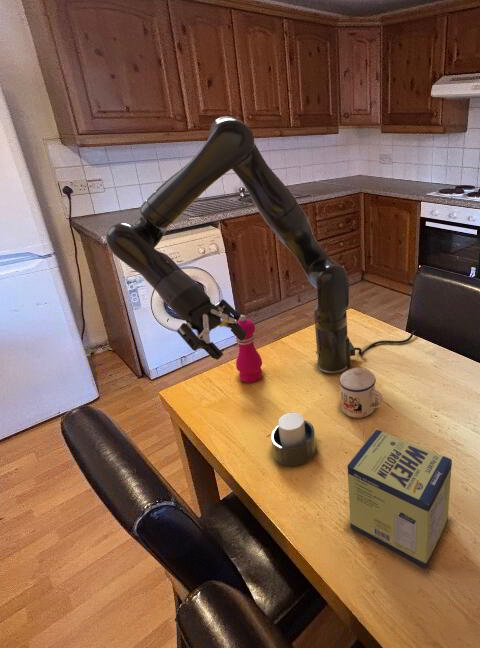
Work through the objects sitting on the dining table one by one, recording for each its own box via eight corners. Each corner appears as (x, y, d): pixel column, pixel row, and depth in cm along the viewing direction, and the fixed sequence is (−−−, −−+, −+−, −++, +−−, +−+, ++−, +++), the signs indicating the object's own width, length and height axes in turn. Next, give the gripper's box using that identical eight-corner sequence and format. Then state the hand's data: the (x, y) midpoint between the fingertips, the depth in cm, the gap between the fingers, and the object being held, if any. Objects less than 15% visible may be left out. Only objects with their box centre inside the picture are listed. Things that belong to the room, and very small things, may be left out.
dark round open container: (310, 431, 100) (309, 415, 98) (319, 460, 91) (318, 442, 90) (271, 441, 97) (269, 424, 95) (276, 471, 89) (274, 454, 87)
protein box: (376, 487, 85) (375, 427, 79) (448, 521, 77) (454, 458, 71) (348, 528, 76) (345, 465, 70) (426, 571, 69) (430, 505, 63)
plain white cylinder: (304, 437, 97) (301, 409, 94) (308, 454, 92) (306, 426, 89) (280, 443, 96) (276, 415, 92) (283, 461, 91) (280, 432, 87)
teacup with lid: (333, 410, 107) (331, 372, 102) (354, 391, 113) (353, 355, 109) (371, 428, 100) (371, 389, 96) (392, 408, 107) (392, 370, 102)
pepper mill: (267, 369, 124) (259, 309, 116) (258, 384, 117) (249, 321, 109) (243, 368, 124) (234, 309, 117) (234, 383, 118) (223, 321, 110)
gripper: (165, 298, 84) (220, 356, 85) (211, 273, 97) (259, 324, 97) (151, 317, 88) (203, 372, 89) (197, 291, 101) (243, 340, 101)
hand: (233, 347), depth 93 cm, fingers open, 8 cm apart
